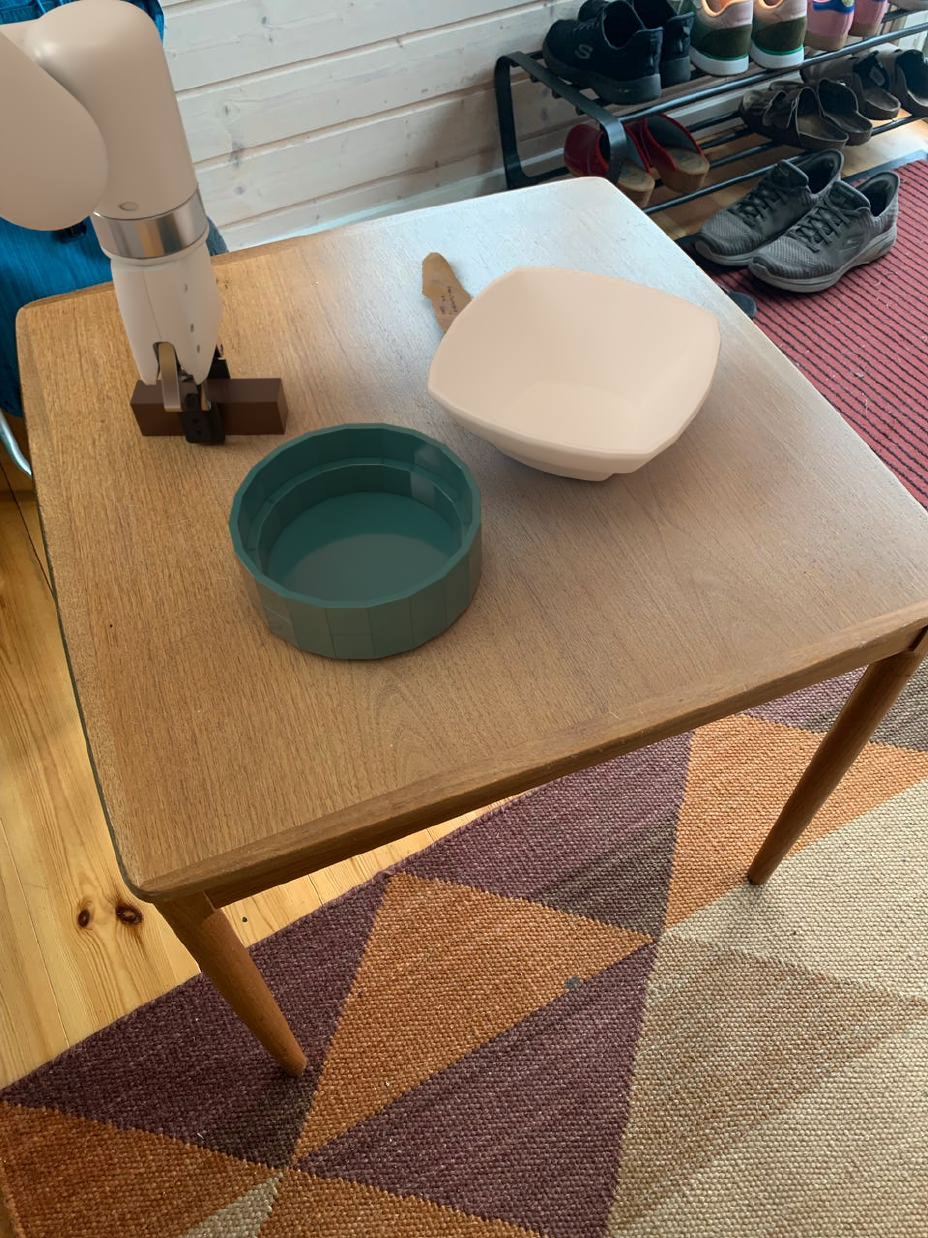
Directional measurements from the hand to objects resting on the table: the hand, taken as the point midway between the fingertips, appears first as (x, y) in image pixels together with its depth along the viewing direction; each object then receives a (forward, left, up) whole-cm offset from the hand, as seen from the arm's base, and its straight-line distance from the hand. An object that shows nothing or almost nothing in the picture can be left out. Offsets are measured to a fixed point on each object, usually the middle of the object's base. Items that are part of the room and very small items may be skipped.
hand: (211, 417), depth 78 cm
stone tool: (+20, +16, -1) cm, 26 cm away
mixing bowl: (+14, -16, -1) cm, 21 cm away
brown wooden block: (0, 0, -1) cm, 1 cm away
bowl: (+30, -2, -1) cm, 30 cm away
